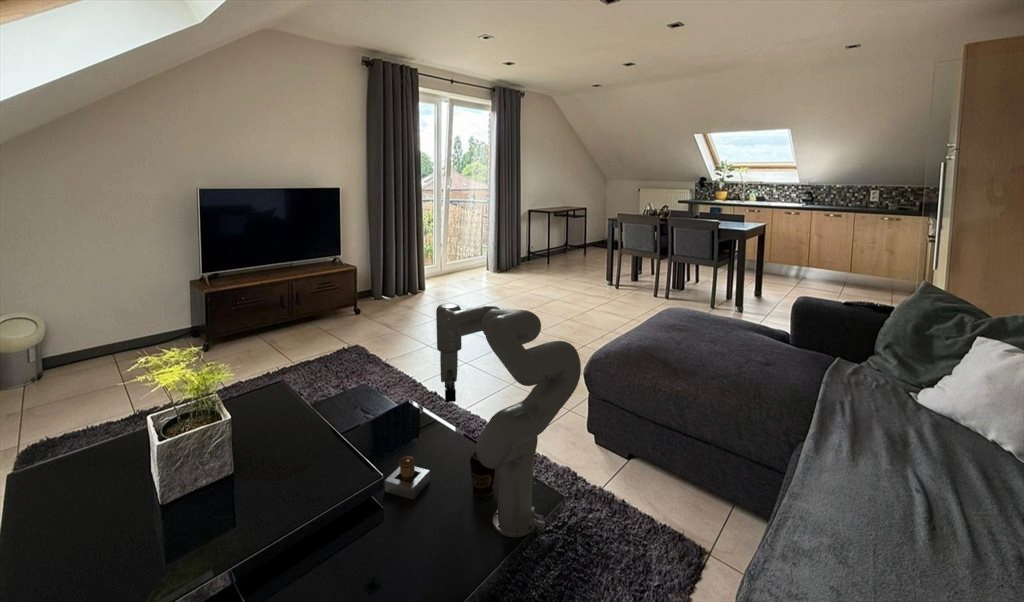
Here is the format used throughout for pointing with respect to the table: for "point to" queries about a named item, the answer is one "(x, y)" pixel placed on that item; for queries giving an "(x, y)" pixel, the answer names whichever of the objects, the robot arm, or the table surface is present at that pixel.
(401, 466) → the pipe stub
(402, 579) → the table surface
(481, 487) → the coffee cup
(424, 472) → the white square frame block
